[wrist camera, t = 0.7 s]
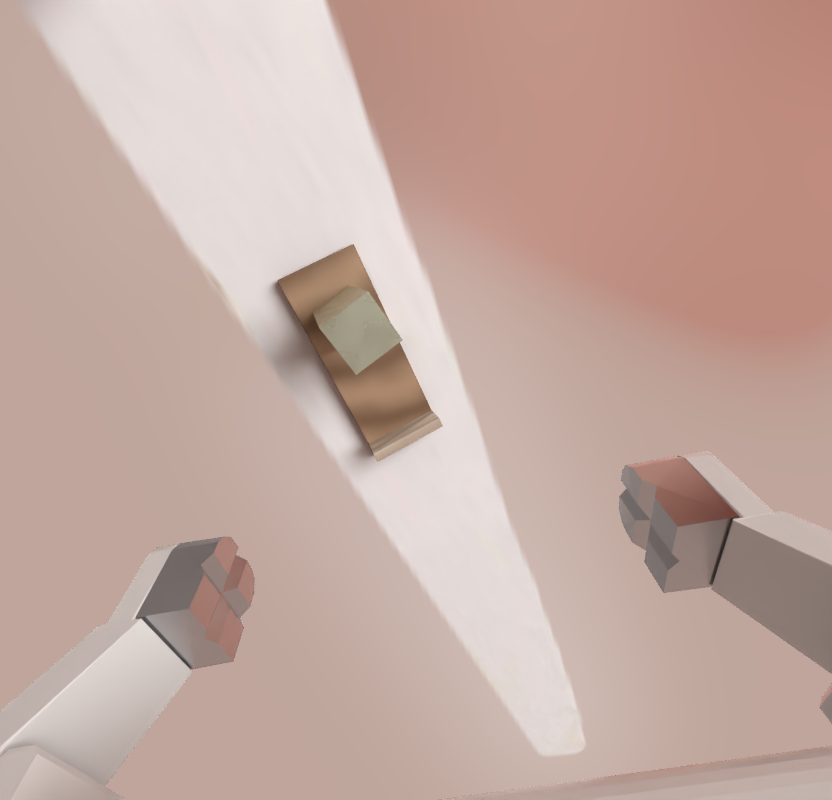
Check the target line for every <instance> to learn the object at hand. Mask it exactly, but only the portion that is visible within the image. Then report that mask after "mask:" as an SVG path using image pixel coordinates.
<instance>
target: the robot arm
mask: <svg viewBox="0 0 832 800" xmlns="http://www.w3.org/2000/svg"><path fill="white" fill-rule="evenodd" d="M621 481H622V482H623V484H624V485H625V486H626V488H627V489H626V490H625V491H624V492H623V493H622V494H621V495H620V497H619V511H620V515H621V520H622V523H623V525H624V528H625V530H626V532H627V534H628V535H629V537H630V539H631V541H632V542H633V543H634V544H636V545H638V546H640V547H641V548H643V549H644V550H646V555H645V563H646V565H647V567H648V569H649V570H650V572H651V573H652V575H653V577H654V578H655V580H656V581H657V583H658V585H659V586H660V588H661V589H662V591H663V592H664V593H667V592H674V591H682V590H689V589H697V588H705V587H712V590H713V591H715V592H716V593H718V594H719V595H720V596H722V597H723V598H725V599H726V600H728V601H729V602H731V603H732V604H733V605H735V606H736V607H737V608H739V609H740V610H742V611H743V612H744V613H746V614H747V615H749V616H750V617H752V618H753V619H755V620H756V621H757V622H759V623H760V624H762V625H763V626H765V627H766V628H767V629H769V630H770V631H772V632H773V633H774V634H776V635H777V636H779V637H780V638H781V639H783V640H784V641H786V642H787V643H789V644H790V645H791V646H793V647H794V648H796V649H797V650H798V651H800V652H801V653H803V654H804V655H806V656H807V657H808V658H810V659H811V660H813V661H814V662H816V663H817V664H819V665H820V666H821V667H823V668H824V669H825V670H827V671H828V672H830V673H831V674H832V531H830V530H828V529H825V528H823V527H820V526H818V525H815V524H813V523H811V522H808V521H806V520H803V519H801V518H799V517H796V516H794V515H791V514H789V513H787V512H784V511H780V512H773V511H772V510H771V509H770V508H769V507H768V506H767V505H766V504H765V503H764V502H762V500H761V499H759V498H758V497H757V496H756V495H755V494H754V493H753V492H752V491H751V490H750V489H749V488H748V487H746V485H745V484H743V483H742V482H741V481H740V480H739V479H738V478H737V477H736V476H735V475H734V474H733V473H732V472H731V471H730V470H729V469H728V468H727V467H726V466H724V465H723V464H722V463H721V462H720V461H719V460H718V459H717V458H716V457H715V456H714V455H713V454H711V453H709V452H707V451H700V452H695V453H689V454H683V455H678V456H673V457H667V458H662V459H657V460H651V461H646V462H641V463H635V464H630V465H625V467H624V469H623V470H622V477H621ZM237 550H238V546H237V545H236V543H235V542H234V540H233V539H232V538H231V537H219V538H213V539H206V540H199V541H192V542H186V543H180V544H176V545H169V546H162V547H157V548H156V549H154V550H153V551H152V552H150V553H149V554H148V556H147V558H146V560H145V561H144V563H143V564H142V566H141V568H140V569H139V571H138V573H137V574H136V576H135V578H134V579H133V581H132V583H131V584H130V586H129V588H128V589H127V591H126V593H125V594H124V596H123V598H122V599H121V601H120V603H119V604H118V606H117V608H116V610H115V611H114V613H113V614H112V616H111V618H110V620H109V621H108V623H107V624H104V625H99V626H98V627H97V628H96V629H94V630H93V631H92V632H91V633H90V634H89V635H87V636H86V637H85V638H84V639H83V640H82V641H81V642H79V643H78V644H77V645H76V646H75V647H74V648H72V649H71V650H70V651H69V652H68V653H66V654H65V655H64V656H63V657H62V658H61V659H60V660H59V661H57V662H56V663H55V664H54V665H53V666H51V667H50V668H49V669H48V670H47V671H46V672H44V673H43V674H42V675H41V676H40V677H39V678H38V679H36V680H35V681H34V682H33V683H32V684H31V685H29V686H28V687H27V688H26V689H25V690H24V691H23V692H21V693H20V694H19V695H18V696H17V697H15V698H14V699H13V700H12V701H11V702H10V703H9V704H7V705H6V706H5V707H4V708H3V709H2V710H0V800H125V799H124V797H122V796H121V795H119V794H117V793H115V792H114V791H112V790H110V789H109V788H107V787H105V785H106V784H107V783H108V782H109V780H110V779H111V778H112V776H113V775H114V774H115V773H116V771H117V770H118V769H119V767H120V766H121V765H122V763H123V762H124V761H125V759H126V758H127V757H128V755H129V754H130V753H131V751H132V750H133V749H134V748H135V746H136V745H137V743H138V742H139V741H140V740H141V738H142V737H143V736H144V734H145V733H146V732H147V731H148V729H149V728H150V727H151V725H152V724H153V723H154V721H155V720H156V719H157V717H158V716H159V715H160V713H161V712H162V711H163V709H164V708H165V707H166V705H167V704H168V703H169V702H170V700H171V699H172V698H173V696H174V695H175V694H176V693H177V691H178V690H179V689H180V687H181V686H182V684H183V683H184V682H185V681H186V679H187V678H188V677H189V675H190V674H191V673H192V671H191V669H196V668H201V667H207V666H212V665H217V664H223V663H228V662H233V661H234V658H235V654H236V651H237V648H238V644H239V641H240V638H241V635H242V631H243V628H244V627H243V624H242V622H241V620H240V617H241V616H242V615H243V614H244V613H245V612H246V610H247V609H248V608H249V607H250V605H251V602H252V598H253V595H254V575H253V571H252V568H251V566H250V565H249V563H248V562H247V560H245V559H243V558H241V557H239V556H237V555H236V553H237ZM820 709H821V710H822V711H823V713H824V714H825V715H826V717H827V718H828V719H829V720H830V722H831V723H832V684H831V685H830V687H829V688H828V689H827V691H826V692H825V694H824V695H823V696H822V699H821V703H820ZM440 800H832V746H828V747H820V748H813V749H805V750H798V751H791V752H783V753H776V754H769V755H762V756H754V757H747V758H740V759H732V760H725V761H718V762H710V763H704V764H695V765H689V766H681V767H675V768H667V769H659V770H652V771H645V772H637V773H630V774H622V775H615V776H608V777H600V778H593V779H586V780H578V781H571V782H564V783H556V784H550V785H542V786H535V787H527V788H521V789H512V790H505V791H498V792H491V793H483V794H476V795H469V796H462V797H454V798H447V799H440Z"/></svg>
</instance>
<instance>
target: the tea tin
mask: <svg viewBox="0 0 832 800" xmlns="http://www.w3.org/2000/svg"><path fill="white" fill-rule="evenodd" d="M313 314H314V317H315V319H316V322H317V324H318V326H319V328H320V330H321V331H322V332H323V333H324V335H325V336H326V337H327V339H328V340H329V341H330V342H331V344H332V345H333V346H334V347H335V349H336V350H337V351H338V352H339V354H340V355H341V356H342V357H343V359H344V360H345V361H346V363H347V364H348V365H349V366H350V368H351V369H352V370H353V371H354V373H355V374H356V375H357V374H358V373H360V372H361V371H362V370H364V369H365V368H366V367H368V366H369V365H370V364H372V363H373V362H374V361H376V360H377V359H378V358H379V357H381V356H382V355H383V354H385V353H386V352H387V351H389V350H390V349H391V348H393V347H394V346H395V345H397V344H398V343H399V342H401V341H402V339H401V337H400V336H399V334H398V333H397V331H396V330H395V329H394V327H393V326H392V324H391V323H390V322H389V320H388V319H387V317H386V316H385V314H384V313H383V312H382V310H381V309H380V307H379V306H378V304H377V303H376V302H375V300H374V299H373V297H372V296H371V294H370V293H369V292H368V291H365V290H362V289H359V288H356V287H353V286H350V285H349V286H347V287H346V288H345V289H343V290H342V291H341V292H339V293H338V294H337V295H335V296H334V297H333V298H331V299H330V300H329V301H327V302H326V303H325V304H323V305H322V306H321V307H319V308H318V309H316V310H315V311H314V312H313Z"/></svg>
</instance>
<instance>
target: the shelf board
mask: <svg viewBox="0 0 832 800" xmlns="http://www.w3.org/2000/svg"><path fill="white" fill-rule="evenodd" d="M278 283H279V285H280V286H281V288H282V290H283V292H284V293H285V295H286V297H287V299H288V301H289V302H290V304H291V306H292V308H293V310H294V311H295V313H296V315H297V317H298V318H299V320H300V322H301V324H302V326H303V327H304V329H305V331H306V333H307V334H308V336H309V338H310V340H311V342H312V343H313V345H314V347H315V349H316V351H317V352H318V354H319V356H320V358H321V359H322V361H323V363H324V365H325V367H326V368H327V370H328V372H329V374H330V375H331V377H332V379H333V381H334V383H335V384H336V386H337V388H338V390H339V392H340V393H341V395H342V397H343V399H344V400H345V402H346V404H347V406H348V408H349V409H350V411H351V413H352V415H353V416H354V418H355V420H356V422H357V424H358V425H359V427H360V429H361V431H362V433H363V434H364V436H365V438H366V440H367V441H368V443H369V445H370V448H371V450H372V452H373V455H374V456H375V458H376V460H377V462H378V461H380V460H382V459H384V458H386V457H387V456H389V455H391V454H393V453H395V452H396V451H398V450H400V449H402V448H404V447H406V446H407V445H409V444H411V443H413V442H415V441H416V440H418V439H420V438H422V437H424V436H426V435H427V434H429V433H431V432H433V431H435V430H436V429H438V428H440V427H442V424H441V421H440V419H439V418H438V417H437V416H436V415H435V414H434V412H433V411H432V410H431V408H430V406H429V404H428V402H427V400H426V398H425V396H424V393H423V391H422V389H421V387H420V385H419V383H418V381H417V379H416V376H415V374H414V372H413V370H412V368H411V366H410V364H409V361H408V359H407V357H406V355H405V353H404V351H403V349H402V347H401V344H400V342H399V343H398V344H397V345H395V346H394V347H393V348H391V349H390V350H389V351H387V352H386V353H385V354H383V355H382V356H381V357H379V358H378V359H377V360H376V361H374V362H373V363H372V364H370V365H369V366H368V367H366V368H365V369H364V370H362V371H361V372H360V373H358V374H357V375H356V374H355V373H354V371H353V370H352V369H351V368H350V366H349V365H348V364H347V363H346V361H345V360H344V359H343V357H342V356H341V355H340V354H339V352H338V351H337V350H336V349H335V347H334V346H333V345H332V344H331V342H330V341H329V340H328V339H327V337H326V336H325V335H324V333H323V332H322V331H321V330H320V328H319V326H318V324H317V322H316V319H315V317H314V314H313V312H314V311H315V310H316V309H318V308H319V307H321V306H322V305H323V304H325V303H326V302H327V301H329V300H330V299H331V298H333V297H334V296H335V295H337V294H338V293H339V292H341V291H342V290H343V289H345V288H346V287H347V286H349V285H350V286H353V287H356V288H359V289H362V290H365V291H368V292H369V293H370V294H371V296H372V297H373V299H374V300H375V302H376V303H377V304H378V306H379V307H380V309H381V310H382V312H383V313H384V314H385V316H386V317H387V315H386V312H385V310H384V308H383V306H382V304H381V302H380V300H379V298H378V295H377V293H376V291H375V289H374V287H373V285H372V283H371V280H370V278H369V276H368V274H367V272H366V270H365V268H364V266H363V263H362V261H361V259H360V257H359V255H358V253H357V251H356V248H355V246H354V244H353V245H350V246H348V247H346V248H344V249H342V250H340V251H338V252H336V253H334V254H332V255H330V256H328V257H325V258H323V259H321V260H319V261H317V262H315V263H313V264H311V265H309V266H307V267H305V268H303V269H301V270H299V271H296V272H294V273H292V274H290V275H288V276H286V277H284V278H282V279H280V280H278ZM387 319H388V317H387ZM388 320H389V319H388ZM389 322H390V321H389Z"/></svg>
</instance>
